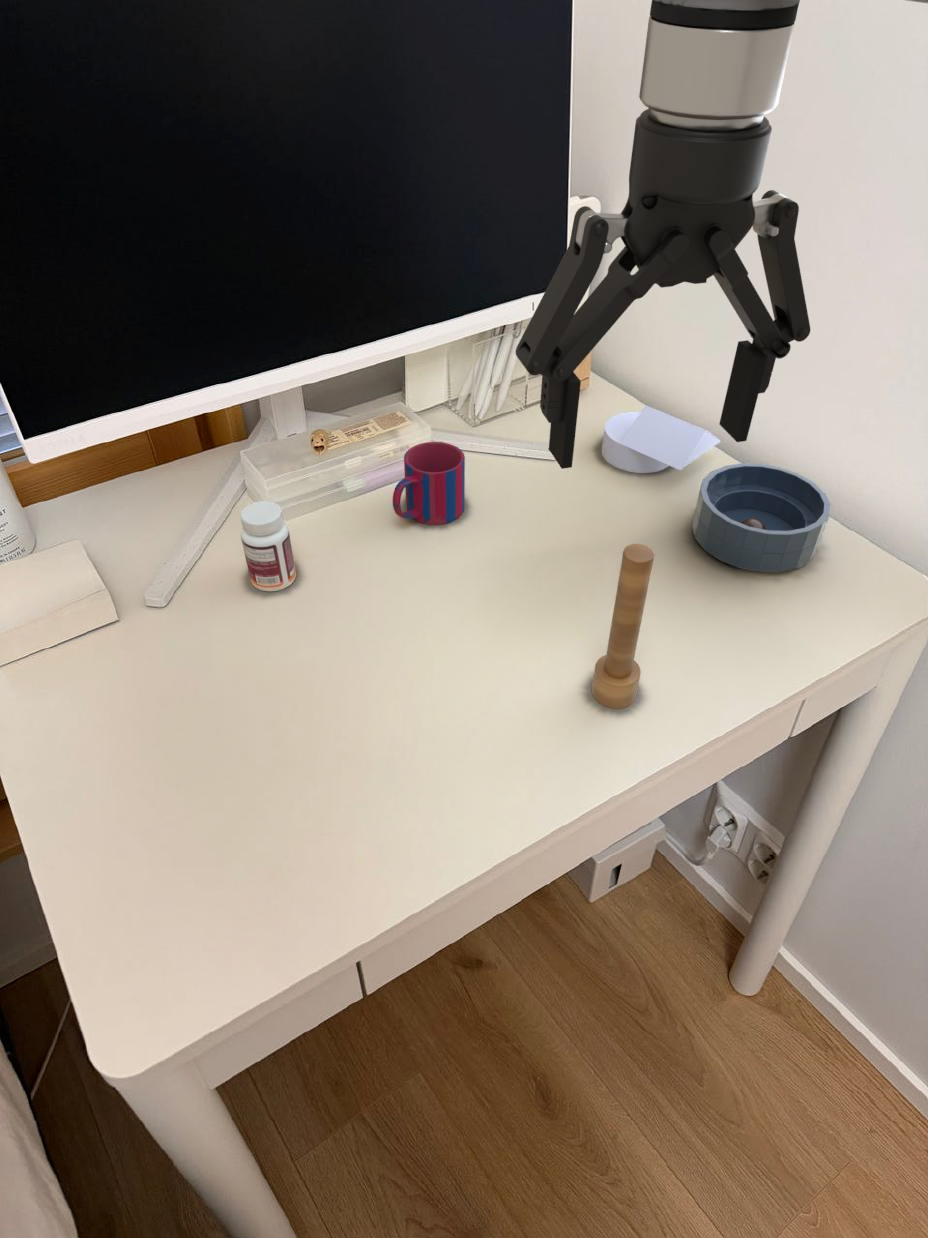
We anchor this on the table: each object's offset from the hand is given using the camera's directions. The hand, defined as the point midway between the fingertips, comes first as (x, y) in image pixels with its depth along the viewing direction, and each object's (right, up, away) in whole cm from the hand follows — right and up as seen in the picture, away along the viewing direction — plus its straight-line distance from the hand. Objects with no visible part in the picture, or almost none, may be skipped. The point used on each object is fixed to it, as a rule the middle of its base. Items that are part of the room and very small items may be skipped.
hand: (648, 445), depth 62 cm
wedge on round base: (+10, +7, +45) cm, 47 cm away
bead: (+18, -3, +30) cm, 35 cm away
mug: (-18, -1, +36) cm, 40 cm away
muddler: (0, -19, +16) cm, 25 cm away
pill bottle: (-33, -8, +27) cm, 44 cm away
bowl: (+19, -4, +33) cm, 38 cm away
